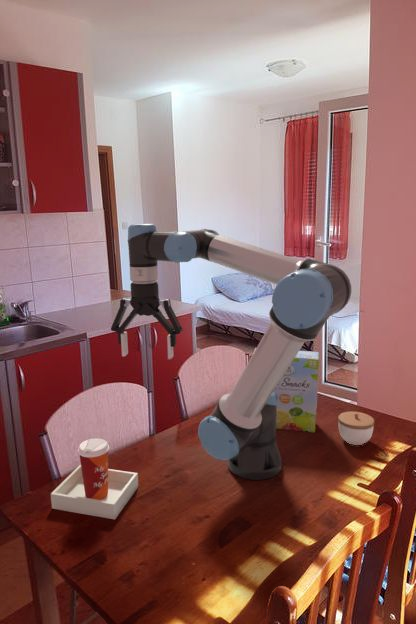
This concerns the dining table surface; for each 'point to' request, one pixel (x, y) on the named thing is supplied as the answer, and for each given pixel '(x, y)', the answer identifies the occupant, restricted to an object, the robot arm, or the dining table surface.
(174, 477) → the dining table surface
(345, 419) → the lidded jar
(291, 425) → the snack box
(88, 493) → the paper cup
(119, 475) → the tray
